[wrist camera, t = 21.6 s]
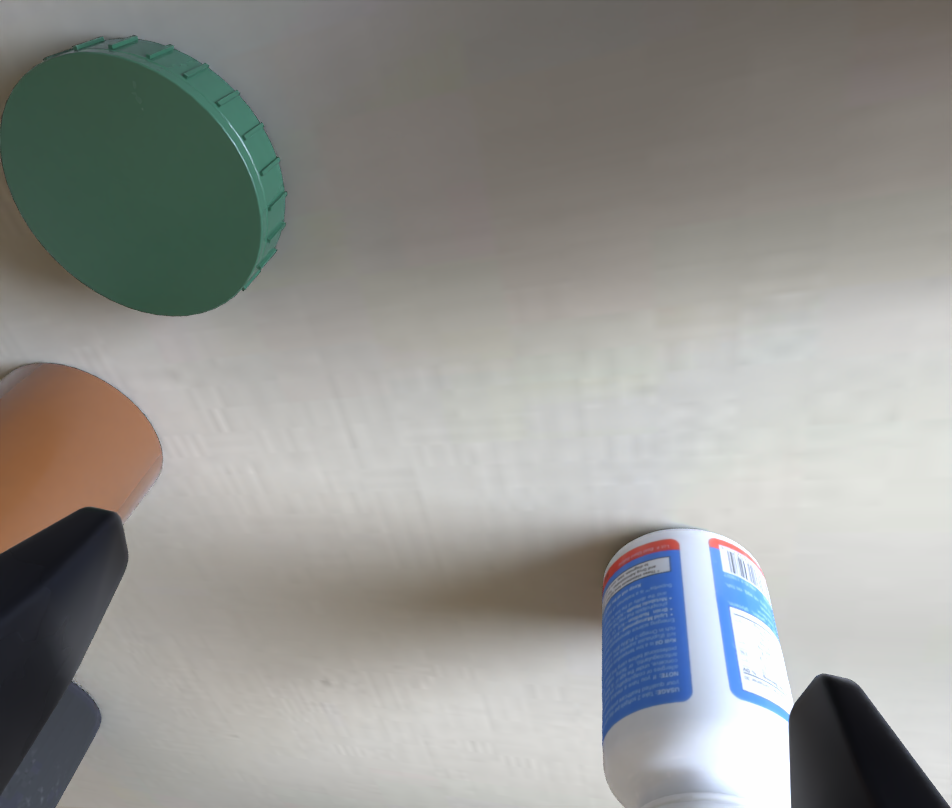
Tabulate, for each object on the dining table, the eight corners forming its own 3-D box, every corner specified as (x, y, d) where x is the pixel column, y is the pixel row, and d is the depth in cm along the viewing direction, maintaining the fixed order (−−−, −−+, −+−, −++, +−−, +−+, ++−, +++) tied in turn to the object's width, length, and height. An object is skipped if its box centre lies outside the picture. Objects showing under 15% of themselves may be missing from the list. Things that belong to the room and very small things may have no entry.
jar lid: (283, 315, 22) (261, 345, 20) (59, 258, 22) (23, 283, 20) (293, 74, 17) (267, 92, 16) (17, 3, 18) (-31, 14, 16)
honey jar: (-37, 398, 26) (-265, 585, 19) (71, 336, 23) (-147, 526, 17) (88, 513, 29) (-74, 712, 22) (197, 469, 26) (52, 678, 19)
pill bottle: (601, 621, 28) (595, 919, 20) (604, 518, 24) (598, 824, 17) (754, 632, 27) (811, 950, 19) (777, 526, 23) (857, 855, 16)
